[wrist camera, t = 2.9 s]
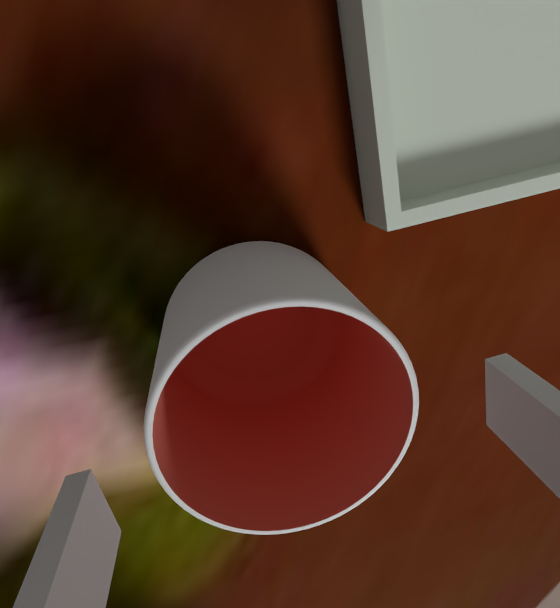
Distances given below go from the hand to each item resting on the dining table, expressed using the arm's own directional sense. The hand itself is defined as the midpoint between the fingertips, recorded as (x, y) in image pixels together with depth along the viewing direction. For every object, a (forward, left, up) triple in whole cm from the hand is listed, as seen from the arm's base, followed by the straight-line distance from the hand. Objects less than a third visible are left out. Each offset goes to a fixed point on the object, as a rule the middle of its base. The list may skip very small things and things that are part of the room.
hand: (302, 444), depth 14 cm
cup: (0, 0, -12) cm, 11 cm away
